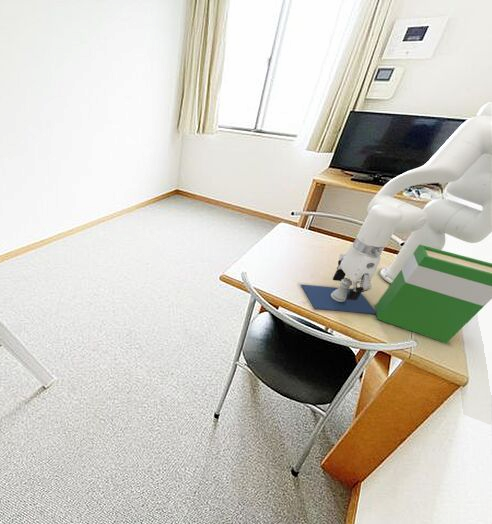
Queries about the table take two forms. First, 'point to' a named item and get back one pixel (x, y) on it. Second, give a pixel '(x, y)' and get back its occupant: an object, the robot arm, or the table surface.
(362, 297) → the cloth
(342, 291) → the rook chess piece
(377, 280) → the table surface
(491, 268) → the hardback book
